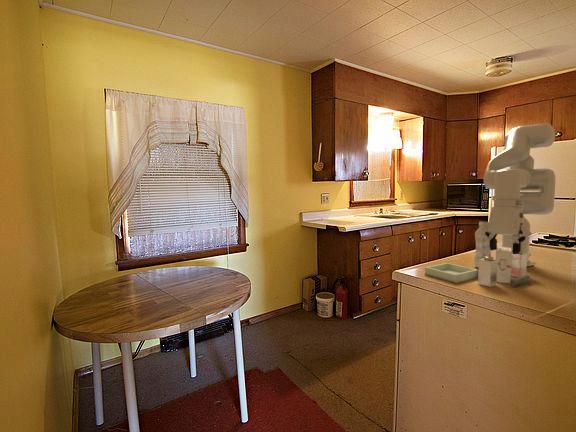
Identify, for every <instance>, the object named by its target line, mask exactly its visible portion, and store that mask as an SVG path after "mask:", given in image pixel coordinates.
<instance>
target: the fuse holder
mask: <svg viewBox="0 0 576 432" xmlns="http://www.w3.org/2000/svg"><path fill="white" fill-rule="evenodd" d="M497 261H498V260H496V259H494V257H493V256H491V257H490V256H484V258H483V259H479V268H478V277H477V279H478V280H477V285H480V286H483V287H484V286H485V287H487V288H492V287H496V286H497V284H498V282H497ZM527 267H528V266H527V254H526V253H523V251H520V252H519V254H513V252H512V270H511V277H514V278H511V282H510V287H512V288H516V287H519V286H522V285H526V284H530V280H531V279H530V278H531V276H530V275H528V274H527Z"/></svg>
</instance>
